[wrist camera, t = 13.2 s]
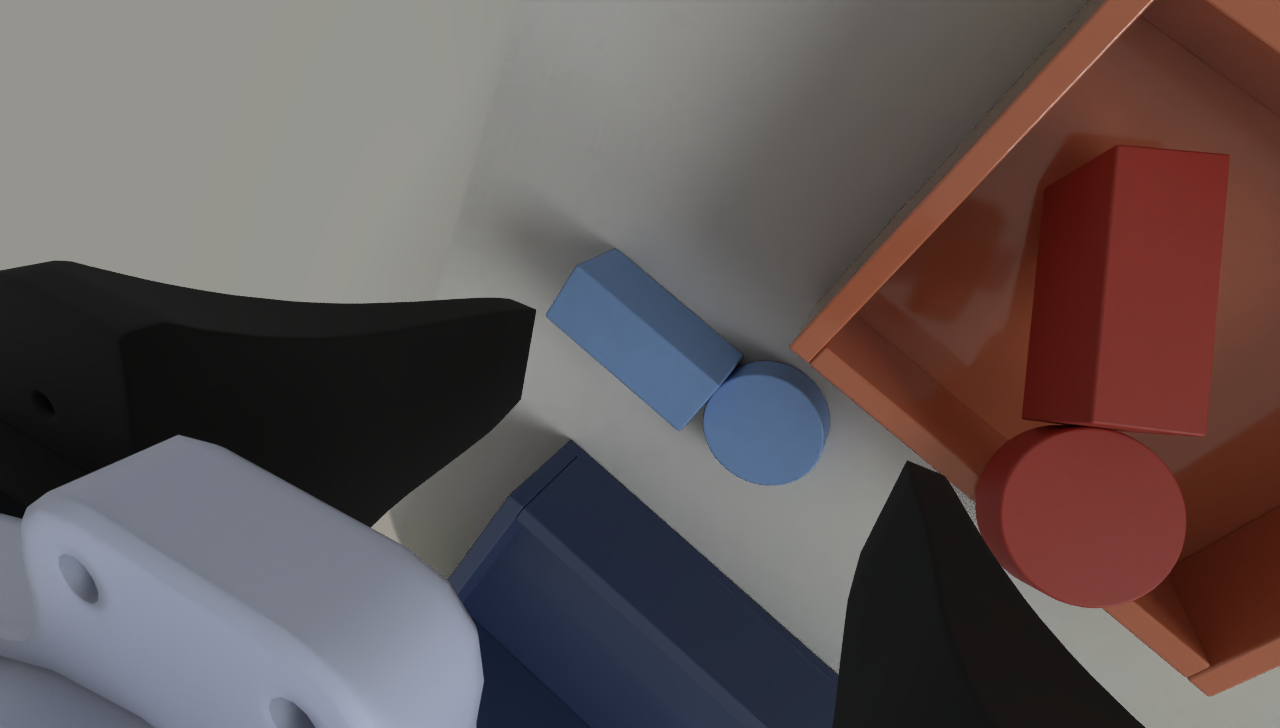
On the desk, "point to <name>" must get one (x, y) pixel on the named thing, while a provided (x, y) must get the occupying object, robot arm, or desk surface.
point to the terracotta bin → (1004, 288)
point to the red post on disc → (1111, 376)
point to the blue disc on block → (693, 371)
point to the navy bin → (622, 619)
